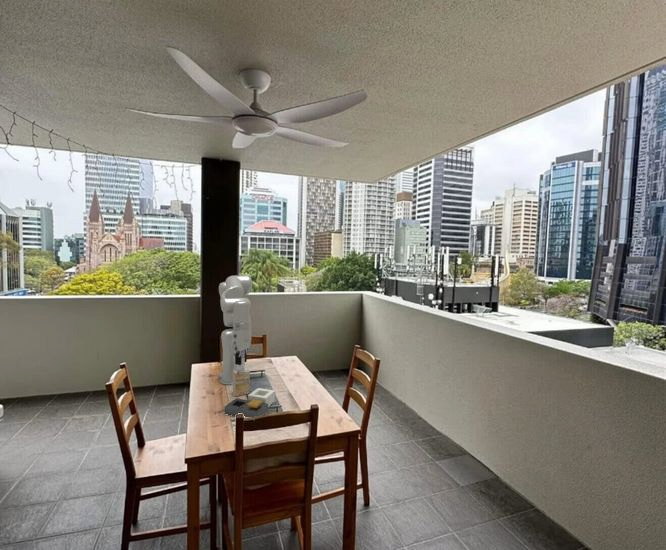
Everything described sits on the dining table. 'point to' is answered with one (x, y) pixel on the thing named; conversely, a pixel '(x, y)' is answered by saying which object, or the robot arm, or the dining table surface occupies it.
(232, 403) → the socket block
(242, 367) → the drill bit
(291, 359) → the dining table surface
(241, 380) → the supplement box
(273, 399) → the white square bin
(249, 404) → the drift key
